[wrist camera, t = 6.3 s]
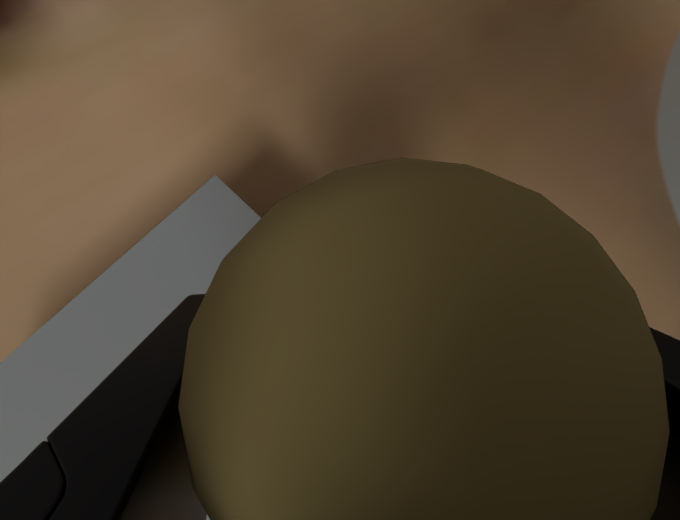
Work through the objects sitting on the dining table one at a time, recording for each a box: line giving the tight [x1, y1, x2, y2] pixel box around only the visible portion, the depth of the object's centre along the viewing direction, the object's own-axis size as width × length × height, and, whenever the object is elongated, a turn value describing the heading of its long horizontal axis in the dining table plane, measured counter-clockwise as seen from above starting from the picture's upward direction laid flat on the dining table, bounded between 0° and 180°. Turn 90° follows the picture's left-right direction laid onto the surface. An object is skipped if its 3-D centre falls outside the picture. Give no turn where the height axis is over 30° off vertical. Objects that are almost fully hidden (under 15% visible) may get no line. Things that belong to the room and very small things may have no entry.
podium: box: [0, 175, 261, 520], centre depth 18 cm, size 12×12×4 cm
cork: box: [178, 158, 670, 520], centre depth 9 cm, size 6×6×11 cm
